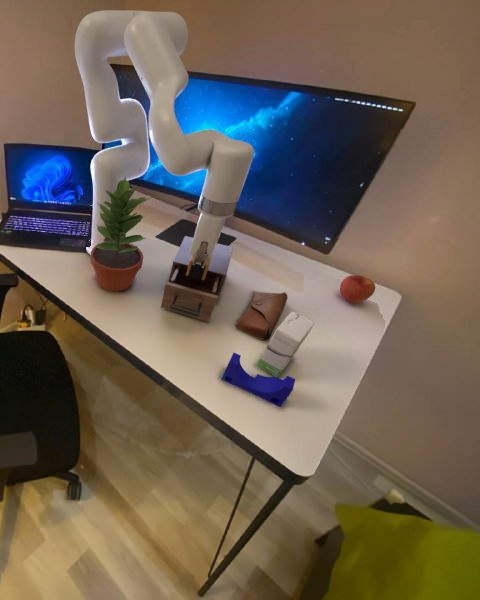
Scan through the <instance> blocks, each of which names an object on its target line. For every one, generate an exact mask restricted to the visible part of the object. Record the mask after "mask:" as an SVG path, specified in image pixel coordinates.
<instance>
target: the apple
mask: <svg viewBox="0 0 480 600" xmlns="http://www.w3.org/2000/svg"><path fill="white" fill-rule="evenodd" d="M339 285H340V286H339V293H340V296H341V297H342V298H343V299H345V301H348V302H349V303H351V304H354V303H355V304H356V303H362V302H364V301H366V300H368V299H370V298H371V297H372V296H373V294H374V293H375V291H376V284H375V282H374V281H373V280H371V278H368V277H366V276H363V275H360V274H351V275H348V276H346V277H345V278H344V279H342V281H341V283H340V284H339Z"/></svg>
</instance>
